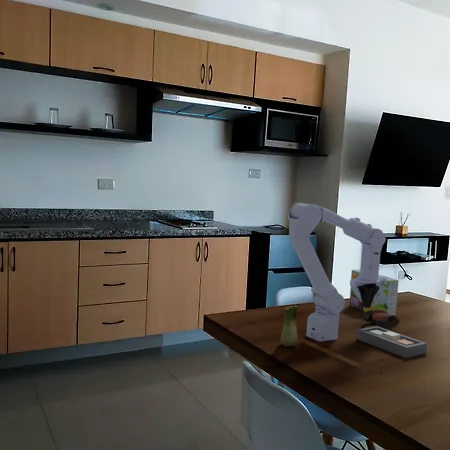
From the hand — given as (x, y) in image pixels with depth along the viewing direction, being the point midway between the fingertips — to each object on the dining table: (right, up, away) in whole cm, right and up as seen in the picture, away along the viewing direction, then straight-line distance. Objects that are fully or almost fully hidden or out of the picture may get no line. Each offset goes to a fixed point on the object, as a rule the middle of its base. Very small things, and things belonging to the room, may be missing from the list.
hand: (366, 307), depth 157 cm
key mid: (+4, -9, -10) cm, 14 cm away
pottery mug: (+7, -10, +9) cm, 15 cm away
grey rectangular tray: (+4, -11, -10) cm, 15 cm away
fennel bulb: (-27, -10, -12) cm, 31 cm away
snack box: (+12, -8, +34) cm, 37 cm away
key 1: (+2, -9, -6) cm, 11 cm away
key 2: (+7, -10, -14) cm, 19 cm away
